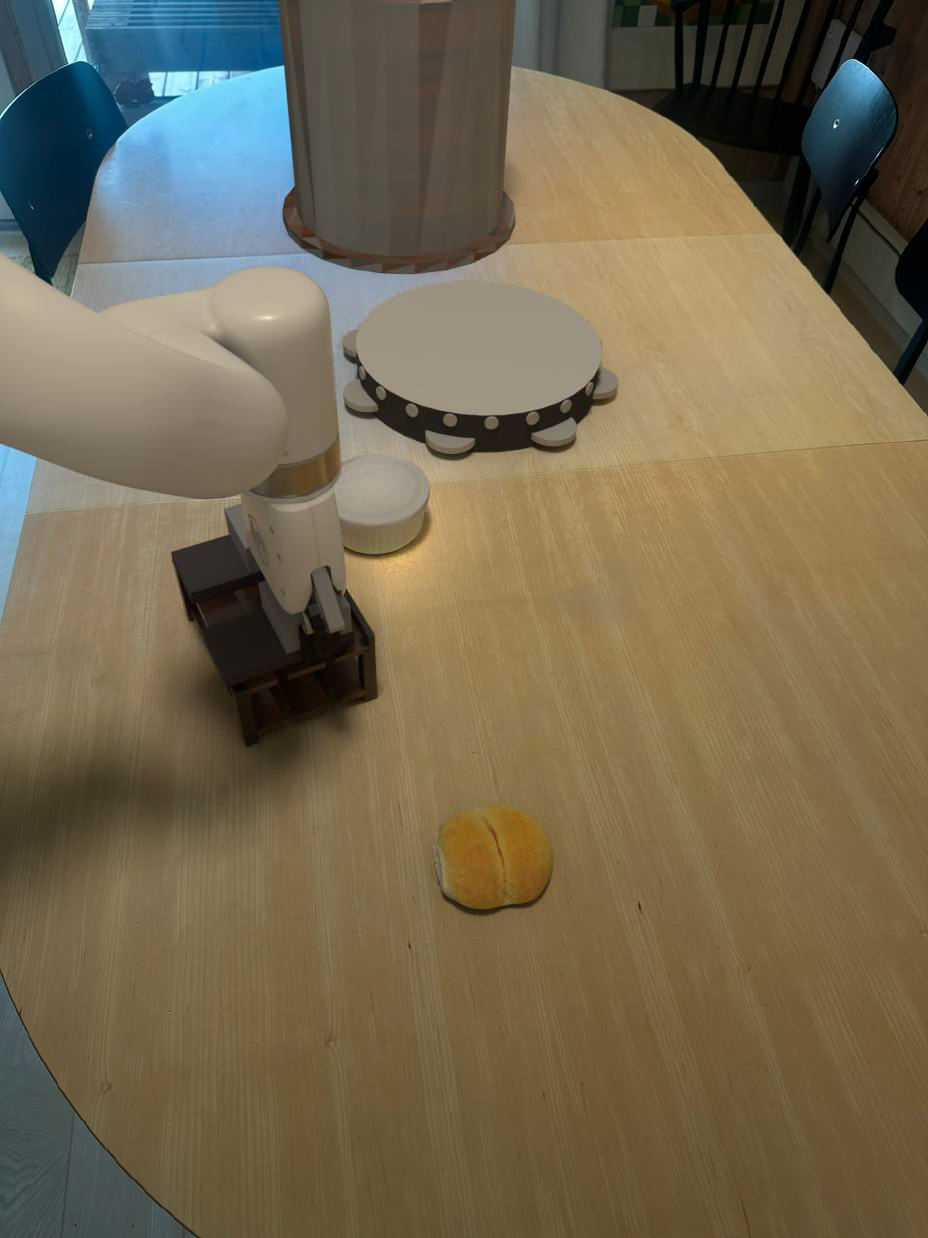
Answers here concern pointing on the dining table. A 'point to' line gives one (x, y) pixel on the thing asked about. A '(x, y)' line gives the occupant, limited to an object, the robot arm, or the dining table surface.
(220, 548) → the grey block
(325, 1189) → the dining table surface
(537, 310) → the tambourine
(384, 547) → the ramekin
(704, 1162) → the dining table surface
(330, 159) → the storage basket
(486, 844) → the bread roll
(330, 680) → the rack
